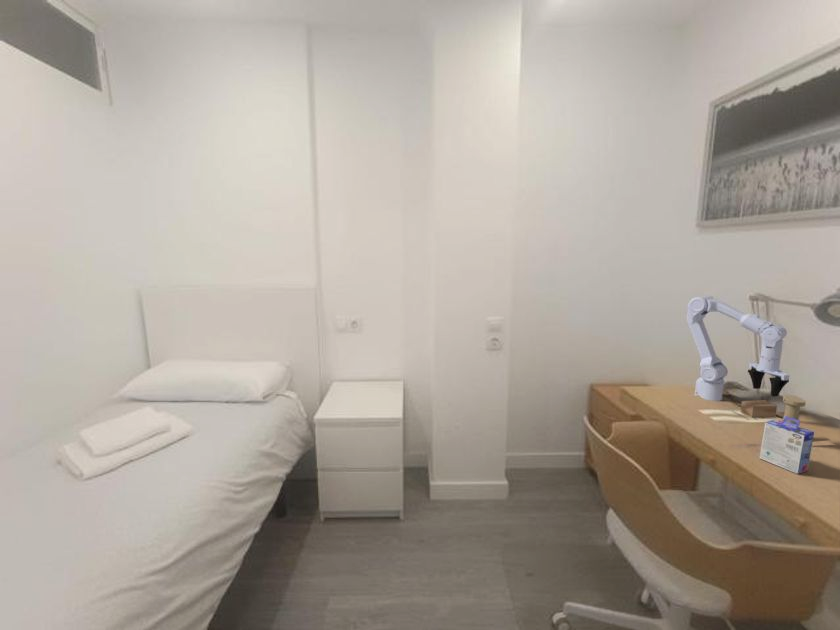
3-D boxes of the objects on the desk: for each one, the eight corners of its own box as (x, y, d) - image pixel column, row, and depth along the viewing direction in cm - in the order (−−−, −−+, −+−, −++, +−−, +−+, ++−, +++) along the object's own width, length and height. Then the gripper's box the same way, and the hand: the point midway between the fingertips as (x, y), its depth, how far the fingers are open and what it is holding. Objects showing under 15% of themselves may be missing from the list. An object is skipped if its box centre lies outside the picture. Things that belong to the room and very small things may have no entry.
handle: (790, 437, 135) (796, 395, 132) (802, 446, 129) (809, 403, 126) (773, 435, 136) (779, 394, 134) (784, 445, 130) (791, 401, 128)
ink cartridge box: (809, 470, 116) (817, 424, 113) (798, 475, 114) (806, 428, 111) (768, 454, 125) (775, 411, 122) (758, 458, 123) (764, 414, 120)
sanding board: (688, 411, 157) (688, 407, 156) (757, 408, 158) (757, 405, 157) (719, 430, 141) (720, 426, 141) (796, 427, 142) (797, 423, 142)
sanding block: (740, 412, 152) (741, 401, 151) (763, 411, 152) (765, 400, 151) (751, 417, 147) (753, 406, 146) (775, 417, 147) (777, 405, 146)
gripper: (743, 352, 155) (739, 385, 157) (777, 363, 140) (772, 400, 143) (761, 351, 155) (756, 385, 157) (797, 362, 141) (791, 399, 143)
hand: (765, 392), depth 150 cm, fingers open, 7 cm apart
